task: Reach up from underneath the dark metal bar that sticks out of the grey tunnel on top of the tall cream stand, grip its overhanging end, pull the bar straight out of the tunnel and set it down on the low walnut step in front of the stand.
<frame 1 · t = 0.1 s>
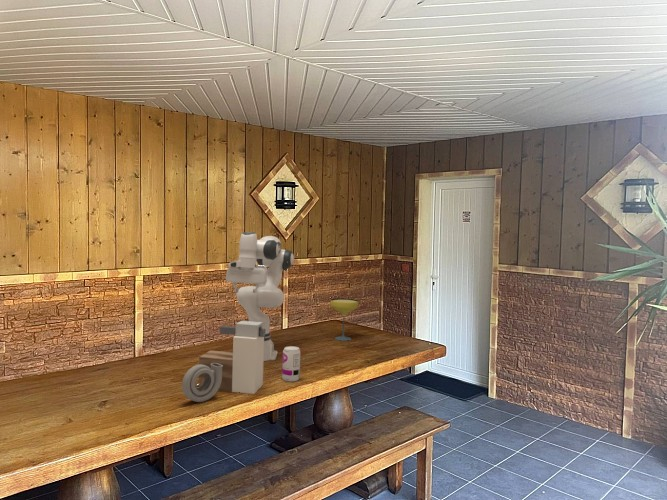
hand: (245, 292, 249), 39 cm above the table, tool pointing down, fingers open, 8 cm apart
turbocharger housing: (201, 400, 208), on the table
cocktail glass: (343, 339, 327), on the table
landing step: (220, 385, 227), on the table
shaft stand: (247, 388, 225), on the table
metal bar: (242, 334, 224), point 24 cm above the table, touching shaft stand
supplement can: (290, 379, 240), on the table
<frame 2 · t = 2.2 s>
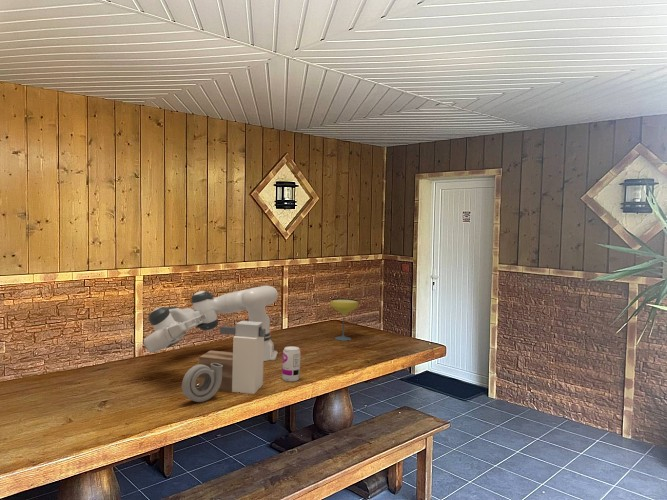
hand: (200, 318, 227), 30 cm above the table, tool pointing upward, fingers open, 8 cm apart
nothing on the table moved.
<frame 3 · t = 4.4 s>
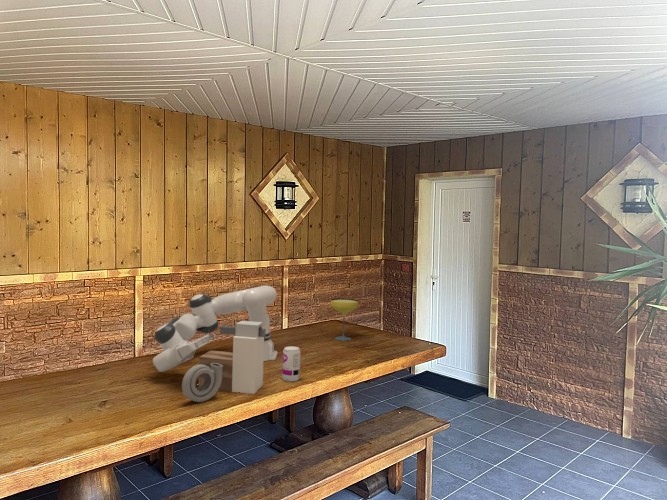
hand: (210, 337, 226), 22 cm above the table, tool pointing upward, fingers open, 8 cm apart
nothing on the table moved.
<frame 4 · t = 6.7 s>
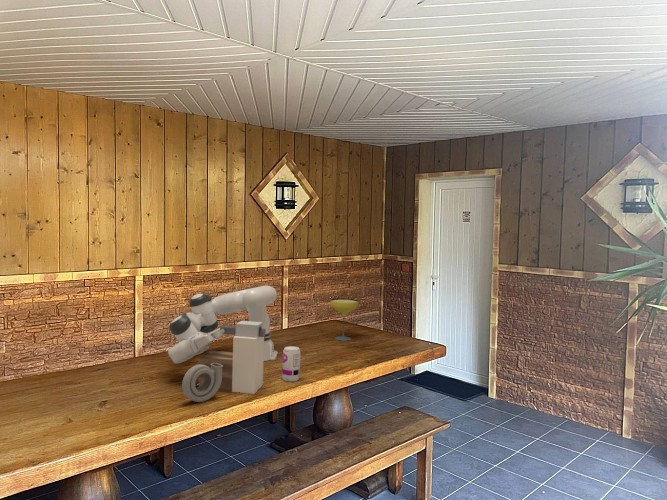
hand: (226, 329, 225), 26 cm above the table, tool pointing upward, fingers closed on metal bar, 3 cm apart
metal bar: (242, 334, 224), point 24 cm above the table, touching gripper
everything else where it was.
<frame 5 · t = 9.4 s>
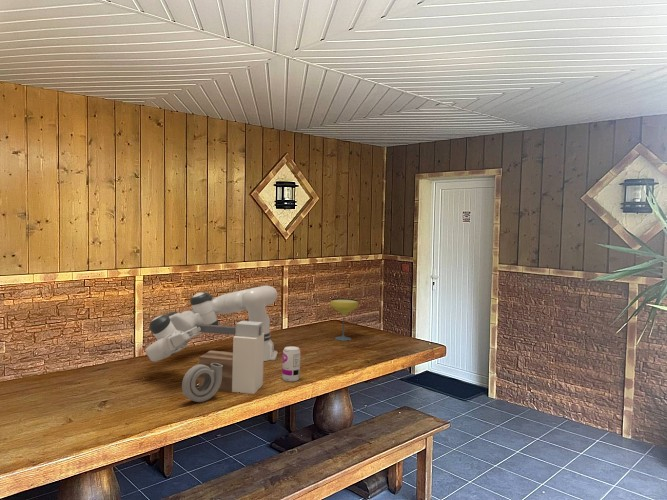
hand: (202, 327, 227), 26 cm above the table, tool pointing upward, fingers closed on metal bar, 3 cm apart
metal bar: (219, 332, 225), point 24 cm above the table, touching gripper
everything else where it was.
when the fingers open (19 cm above the table, at t = 12.4 s): metal bar drops 3 cm, resting on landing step.
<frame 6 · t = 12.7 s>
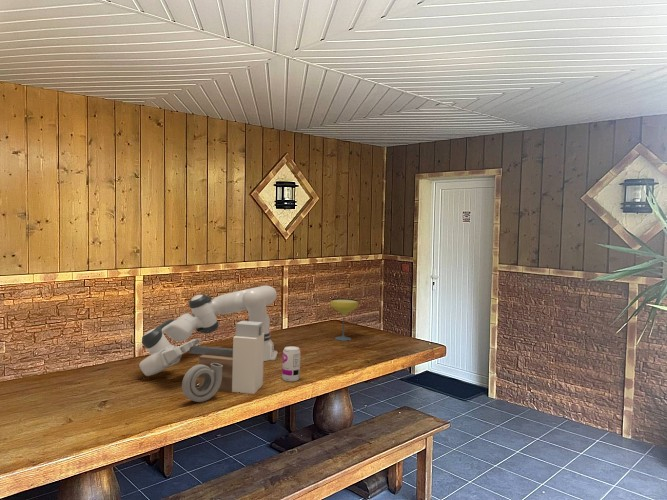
hand: (196, 342, 228), 19 cm above the table, tool pointing upward, fingers open, 5 cm apart
metal bar: (212, 354, 227), point 14 cm above the table, touching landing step
everything else where it was.
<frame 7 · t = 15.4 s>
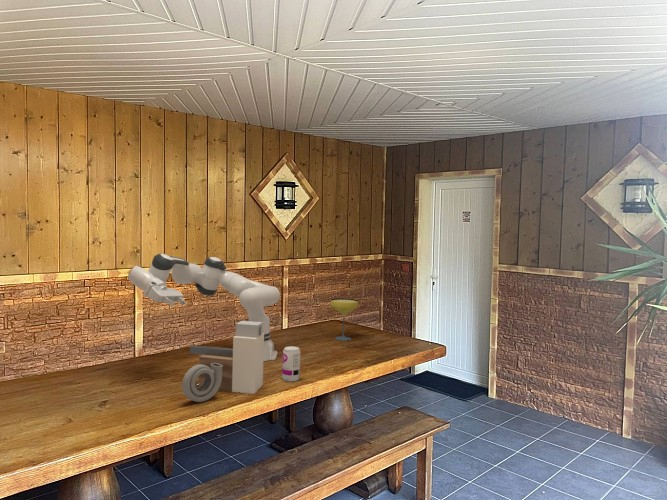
hand: (179, 304, 234), 35 cm above the table, tool tilted 65°, fingers open, 8 cm apart
nothing on the table moved.
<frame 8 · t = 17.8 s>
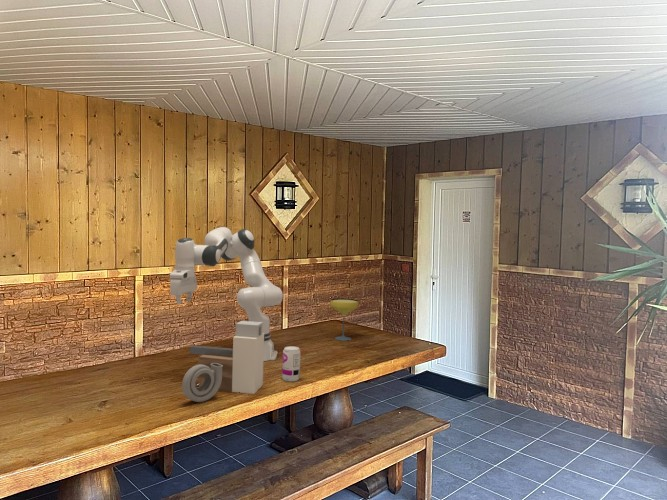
hand: (184, 302, 237), 35 cm above the table, tool pointing down, fingers open, 8 cm apart
nothing on the table moved.
at the end: metal bar inside the target area (1.1 cm from its centre), point 14.0 cm above the table; metal bar touching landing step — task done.
